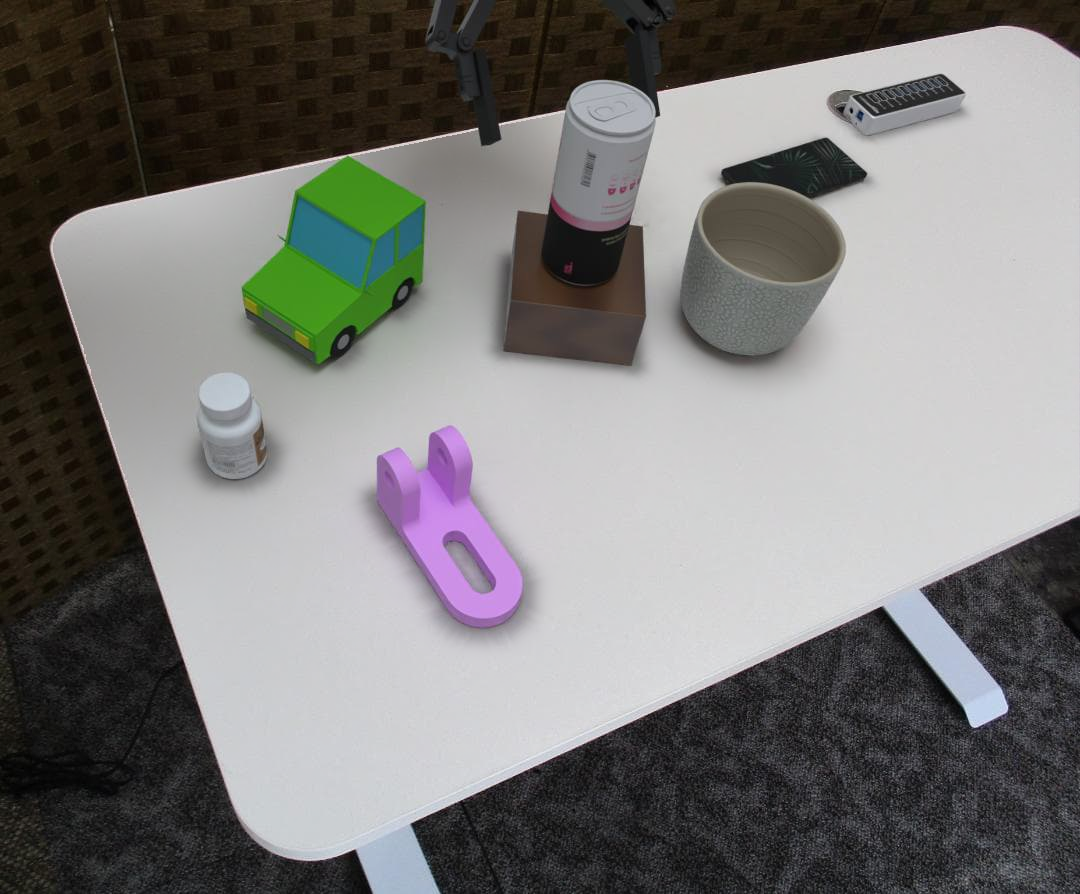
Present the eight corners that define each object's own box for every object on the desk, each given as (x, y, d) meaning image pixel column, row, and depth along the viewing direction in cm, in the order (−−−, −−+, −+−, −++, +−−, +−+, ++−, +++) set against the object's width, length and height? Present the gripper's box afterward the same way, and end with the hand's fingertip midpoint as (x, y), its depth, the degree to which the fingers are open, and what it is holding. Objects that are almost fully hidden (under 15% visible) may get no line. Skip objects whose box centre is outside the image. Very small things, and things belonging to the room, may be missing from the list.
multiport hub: (959, 111, 115) (968, 93, 113) (865, 136, 110) (873, 118, 108) (933, 89, 117) (942, 72, 115) (840, 113, 112) (848, 95, 110)
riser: (503, 351, 84) (510, 300, 79) (510, 261, 90) (517, 210, 86) (631, 365, 85) (646, 316, 80) (629, 276, 91) (643, 225, 87)
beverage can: (524, 250, 83) (549, 92, 71) (586, 225, 86) (619, 69, 74) (572, 299, 80) (605, 144, 68) (633, 272, 83) (676, 118, 71)
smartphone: (869, 173, 104) (762, 209, 98) (865, 181, 105) (759, 217, 98) (826, 135, 107) (720, 167, 101) (823, 143, 108) (717, 176, 102)
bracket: (377, 501, 73) (376, 445, 68) (442, 471, 76) (447, 415, 70) (467, 641, 68) (475, 592, 62) (535, 604, 70) (548, 554, 64)
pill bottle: (277, 467, 74) (267, 402, 68) (219, 489, 72) (204, 424, 66) (254, 425, 76) (242, 358, 70) (197, 446, 74) (181, 379, 68)
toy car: (233, 323, 82) (217, 230, 74) (341, 242, 89) (338, 149, 81) (327, 385, 79) (321, 295, 71) (431, 297, 87) (436, 206, 79)
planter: (826, 328, 90) (873, 237, 82) (751, 399, 84) (793, 308, 76) (719, 256, 95) (753, 162, 86) (639, 318, 88) (667, 223, 80)
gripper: (647, -149, 81) (686, 118, 85) (349, -134, 73) (408, 160, 77) (693, -192, 74) (733, 101, 78) (369, -181, 66) (433, 145, 70)
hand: (572, 131), depth 78 cm, fingers open, 13 cm apart
